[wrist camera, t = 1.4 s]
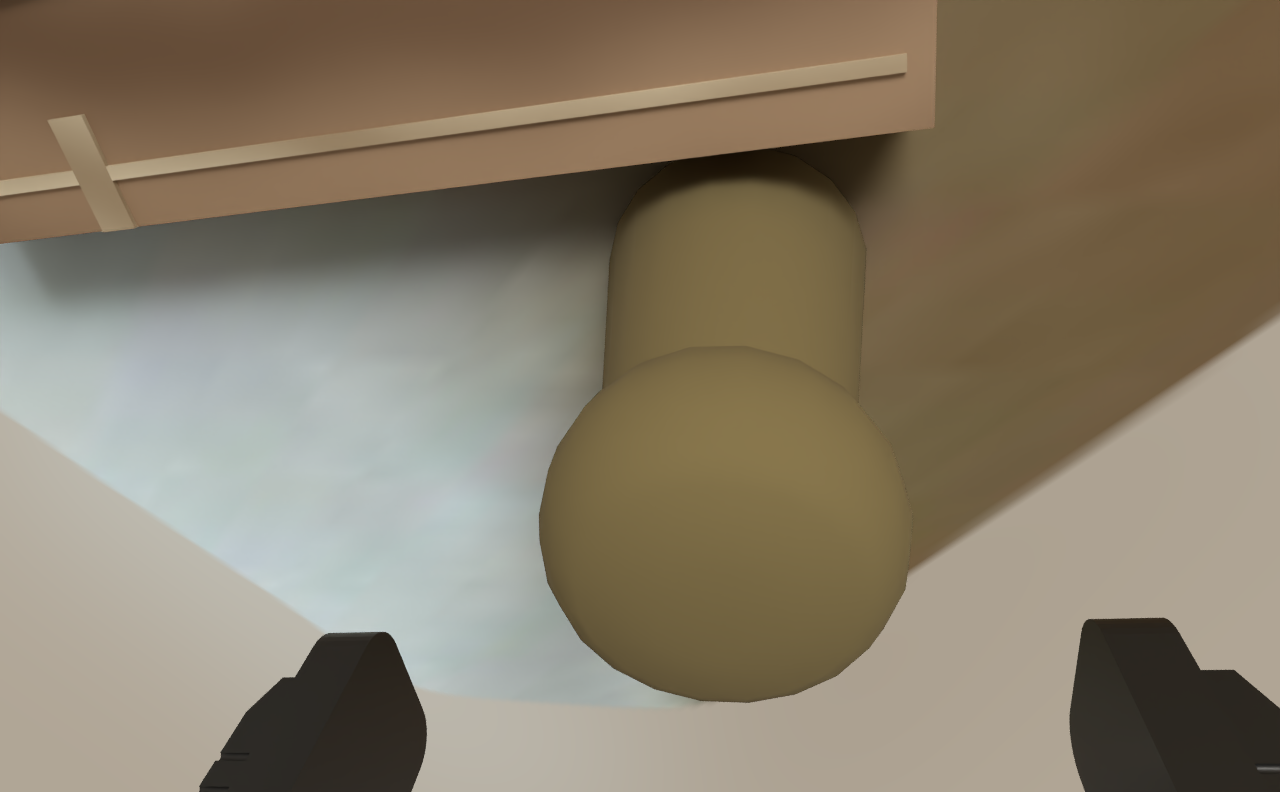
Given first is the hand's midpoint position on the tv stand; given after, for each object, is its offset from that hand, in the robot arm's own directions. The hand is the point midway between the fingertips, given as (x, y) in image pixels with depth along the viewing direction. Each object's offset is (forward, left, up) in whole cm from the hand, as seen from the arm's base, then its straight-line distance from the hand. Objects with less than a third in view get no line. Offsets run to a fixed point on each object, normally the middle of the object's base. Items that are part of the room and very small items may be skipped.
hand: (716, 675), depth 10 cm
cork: (0, 0, -12) cm, 12 cm away
